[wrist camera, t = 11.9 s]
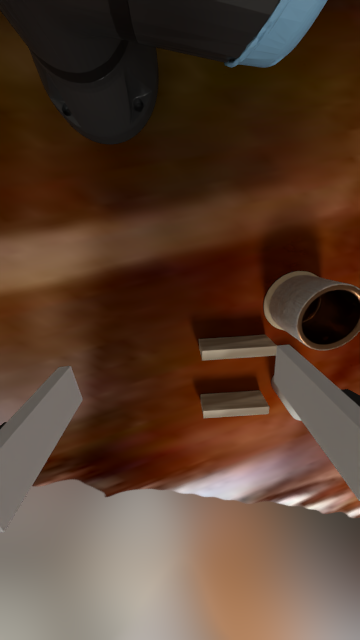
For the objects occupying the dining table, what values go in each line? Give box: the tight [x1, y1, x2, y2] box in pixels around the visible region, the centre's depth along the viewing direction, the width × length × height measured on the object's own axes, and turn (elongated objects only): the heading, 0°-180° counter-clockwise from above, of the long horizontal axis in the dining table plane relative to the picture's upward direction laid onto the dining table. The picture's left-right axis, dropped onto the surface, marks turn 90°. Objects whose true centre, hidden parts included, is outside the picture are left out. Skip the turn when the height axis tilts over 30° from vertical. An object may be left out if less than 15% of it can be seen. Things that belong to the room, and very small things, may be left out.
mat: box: [264, 271, 318, 330], centre depth 38 cm, size 12×12×1 cm
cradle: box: [199, 335, 277, 418], centre depth 42 cm, size 16×14×5 cm
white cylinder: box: [271, 376, 302, 421], centre depth 42 cm, size 7×7×8 cm
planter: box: [269, 275, 360, 350], centre depth 34 cm, size 11×11×10 cm
